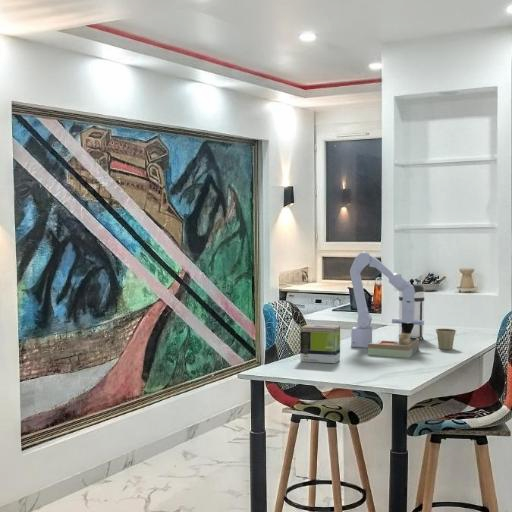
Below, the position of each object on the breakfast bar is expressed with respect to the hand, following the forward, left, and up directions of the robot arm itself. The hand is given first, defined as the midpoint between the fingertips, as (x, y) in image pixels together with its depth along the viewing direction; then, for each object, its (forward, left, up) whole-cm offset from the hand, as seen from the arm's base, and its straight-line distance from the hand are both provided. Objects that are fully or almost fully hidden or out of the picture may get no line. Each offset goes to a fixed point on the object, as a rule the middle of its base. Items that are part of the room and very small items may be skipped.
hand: (407, 339), depth 366 cm
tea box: (-27, -49, -4) cm, 56 cm away
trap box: (-3, -14, -4) cm, 15 cm away
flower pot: (+17, +6, -4) cm, 18 cm away
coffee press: (-4, +31, -4) cm, 32 cm away
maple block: (0, -7, -1) cm, 7 cm away
